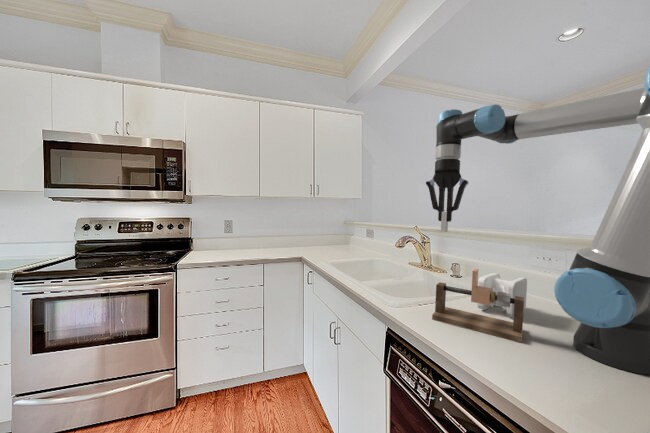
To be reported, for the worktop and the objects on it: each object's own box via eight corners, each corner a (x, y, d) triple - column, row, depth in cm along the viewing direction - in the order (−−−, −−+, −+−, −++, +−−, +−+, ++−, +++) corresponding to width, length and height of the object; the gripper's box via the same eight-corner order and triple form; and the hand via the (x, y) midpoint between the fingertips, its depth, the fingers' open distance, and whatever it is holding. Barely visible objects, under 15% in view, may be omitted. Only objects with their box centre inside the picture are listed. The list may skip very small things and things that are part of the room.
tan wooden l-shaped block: (490, 301, 79) (492, 271, 78) (489, 305, 75) (490, 273, 75) (473, 298, 81) (474, 268, 81) (471, 301, 78) (472, 270, 78)
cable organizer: (511, 321, 83) (513, 283, 82) (474, 310, 91) (476, 276, 90) (526, 311, 92) (528, 277, 92) (492, 302, 100) (493, 271, 100)
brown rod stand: (522, 329, 77) (524, 293, 76) (521, 342, 69) (523, 302, 68) (440, 310, 90) (442, 279, 90) (432, 319, 82) (433, 285, 82)
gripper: (471, 160, 88) (468, 232, 88) (430, 163, 95) (427, 229, 96) (467, 156, 82) (463, 233, 82) (423, 159, 89) (420, 230, 90)
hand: (444, 231), depth 89 cm, fingers closed
